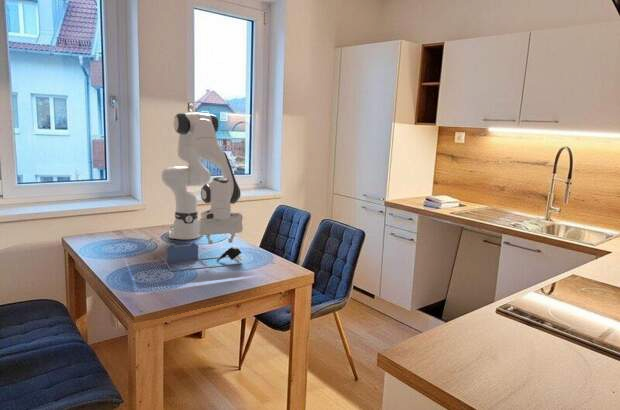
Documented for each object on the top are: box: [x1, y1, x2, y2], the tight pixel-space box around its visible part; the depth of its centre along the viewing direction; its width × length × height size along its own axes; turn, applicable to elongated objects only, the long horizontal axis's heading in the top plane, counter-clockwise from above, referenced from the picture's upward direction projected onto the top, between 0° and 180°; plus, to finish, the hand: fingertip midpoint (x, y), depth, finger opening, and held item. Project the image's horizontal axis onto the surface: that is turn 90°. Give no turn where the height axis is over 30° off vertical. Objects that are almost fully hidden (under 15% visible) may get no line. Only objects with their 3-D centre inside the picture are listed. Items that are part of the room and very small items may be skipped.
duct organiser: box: [164, 241, 243, 272], centre depth 202 cm, size 15×32×8 cm, turn 118°
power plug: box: [216, 246, 243, 263], centre depth 204 cm, size 6×8×12 cm
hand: (220, 243), depth 204 cm, fingers open, 8 cm apart
